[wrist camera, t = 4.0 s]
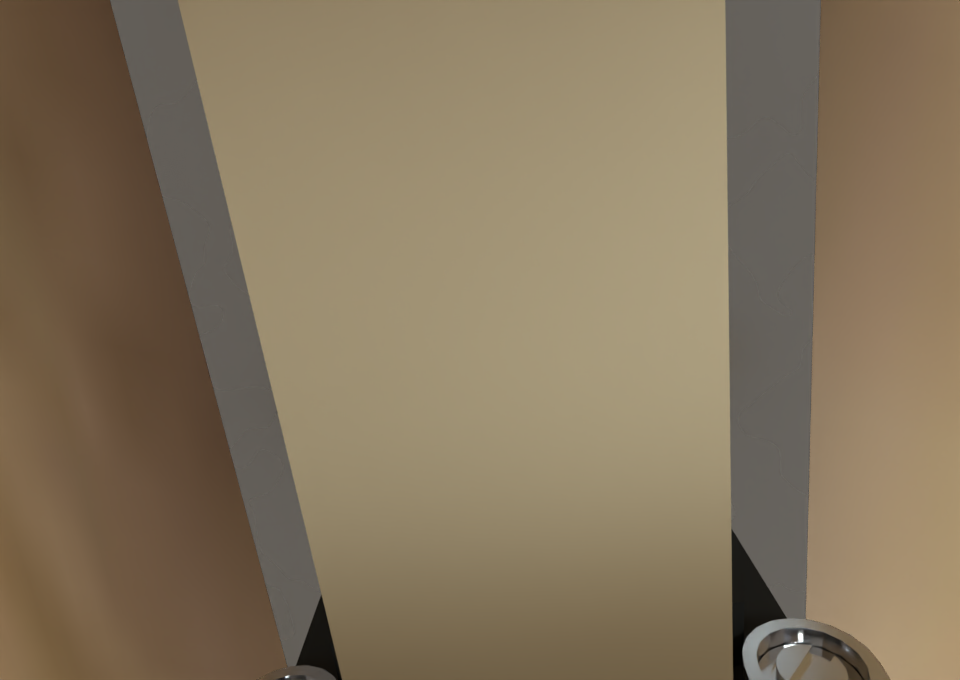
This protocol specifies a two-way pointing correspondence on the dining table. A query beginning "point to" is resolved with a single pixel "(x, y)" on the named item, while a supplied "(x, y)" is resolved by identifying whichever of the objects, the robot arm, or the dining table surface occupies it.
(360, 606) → the tan bar with plate
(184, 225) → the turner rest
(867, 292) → the dining table surface
